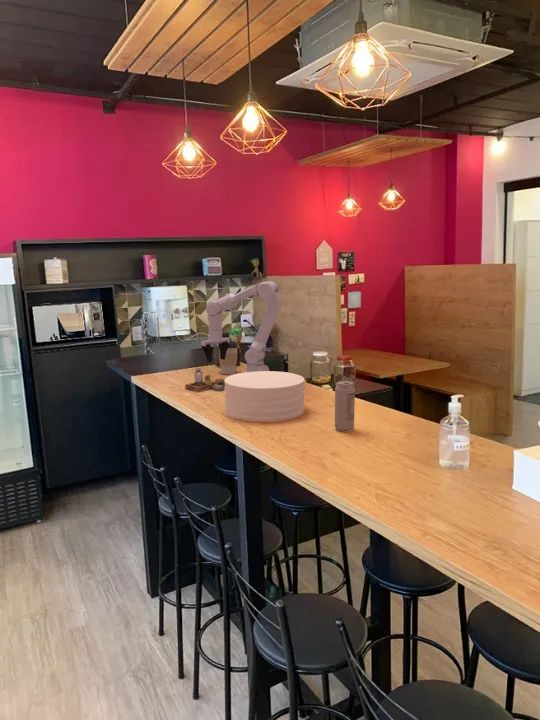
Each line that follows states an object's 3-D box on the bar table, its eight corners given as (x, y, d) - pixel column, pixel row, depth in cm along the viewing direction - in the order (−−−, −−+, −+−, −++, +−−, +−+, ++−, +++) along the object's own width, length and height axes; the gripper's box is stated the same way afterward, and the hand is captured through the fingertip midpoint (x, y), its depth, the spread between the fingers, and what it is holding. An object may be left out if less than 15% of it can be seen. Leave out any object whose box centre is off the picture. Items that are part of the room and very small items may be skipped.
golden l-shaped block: (218, 385, 236) (218, 377, 235) (213, 386, 234) (213, 377, 234) (208, 383, 240) (208, 375, 239) (204, 384, 238) (204, 376, 238)
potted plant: (212, 364, 283) (211, 329, 280) (232, 362, 288) (232, 327, 285) (223, 369, 269) (222, 332, 266) (244, 367, 274) (244, 331, 271)
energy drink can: (341, 425, 178) (342, 379, 175) (357, 429, 174) (358, 382, 172) (330, 430, 174) (331, 383, 171) (347, 433, 170) (348, 385, 167)
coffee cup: (239, 374, 258) (239, 342, 255) (219, 375, 256) (220, 343, 253) (235, 370, 266) (236, 339, 264) (217, 371, 264) (217, 339, 261)
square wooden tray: (212, 388, 230) (212, 384, 229) (197, 392, 224) (197, 387, 224) (200, 385, 235) (200, 381, 235) (185, 389, 229) (185, 384, 229)
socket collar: (239, 386, 234) (239, 384, 234) (218, 391, 225) (218, 389, 225) (220, 382, 242) (220, 380, 242) (199, 386, 233) (199, 385, 233)
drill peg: (204, 386, 230) (204, 368, 228) (198, 387, 227) (197, 370, 226) (199, 385, 232) (198, 367, 230) (193, 386, 229) (192, 369, 228)
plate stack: (209, 409, 199) (208, 378, 197) (269, 396, 216) (269, 368, 214) (258, 427, 178) (258, 392, 176) (320, 411, 195) (321, 379, 193)
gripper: (221, 327, 247) (222, 357, 249) (196, 330, 236) (197, 361, 239) (232, 328, 242) (233, 359, 244) (206, 331, 232) (207, 363, 234)
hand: (216, 360), depth 241 cm, fingers open, 7 cm apart
